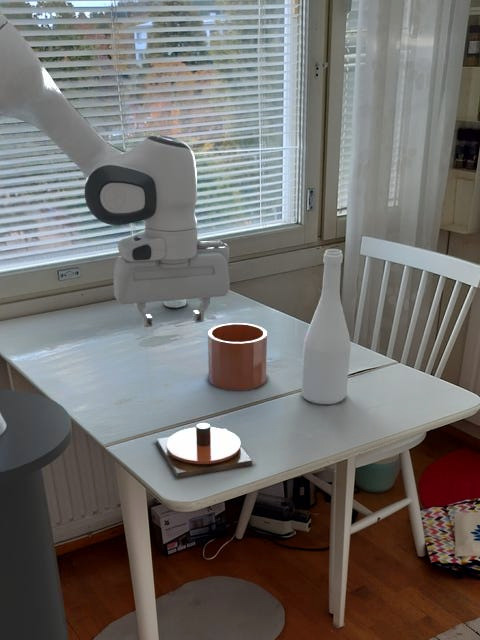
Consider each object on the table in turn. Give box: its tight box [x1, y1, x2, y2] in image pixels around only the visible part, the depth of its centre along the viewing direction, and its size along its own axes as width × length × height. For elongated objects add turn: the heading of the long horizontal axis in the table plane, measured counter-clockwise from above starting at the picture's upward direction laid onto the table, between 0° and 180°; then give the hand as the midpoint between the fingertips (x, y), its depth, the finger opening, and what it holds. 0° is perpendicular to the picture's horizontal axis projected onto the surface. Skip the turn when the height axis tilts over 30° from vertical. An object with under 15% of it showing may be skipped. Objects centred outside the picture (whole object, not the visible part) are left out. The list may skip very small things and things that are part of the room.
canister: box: [207, 322, 268, 391], centre depth 171 cm, size 13×13×10 cm
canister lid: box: [166, 422, 242, 464], centre depth 143 cm, size 14×14×5 cm
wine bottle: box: [300, 248, 352, 405], centre depth 158 cm, size 10×10×30 cm
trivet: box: [155, 427, 253, 479], centre depth 144 cm, size 14×14×1 cm
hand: (173, 323), depth 140 cm, fingers open, 8 cm apart
